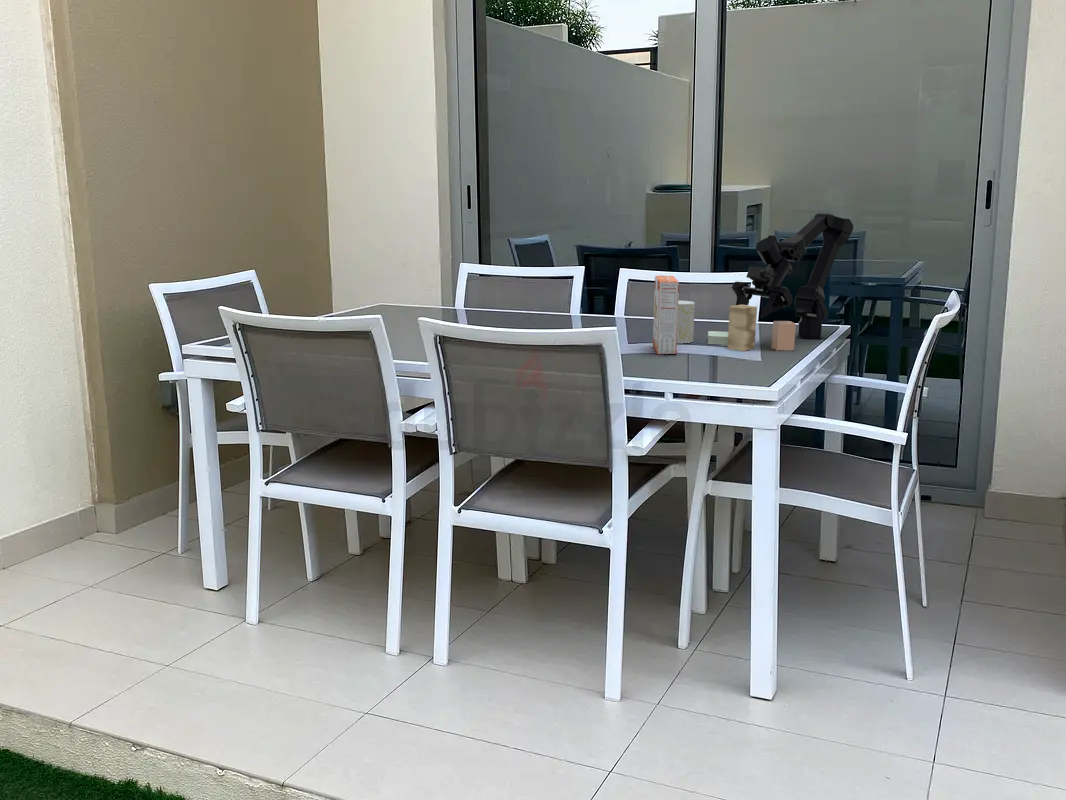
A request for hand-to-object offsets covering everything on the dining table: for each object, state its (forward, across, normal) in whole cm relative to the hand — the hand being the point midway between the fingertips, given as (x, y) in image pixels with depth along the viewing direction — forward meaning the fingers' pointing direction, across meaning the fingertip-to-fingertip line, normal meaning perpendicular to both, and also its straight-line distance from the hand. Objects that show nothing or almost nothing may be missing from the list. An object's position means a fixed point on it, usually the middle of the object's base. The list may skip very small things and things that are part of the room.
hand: (747, 315), depth 300 cm
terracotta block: (+2, +8, +12) cm, 14 cm away
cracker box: (+23, -12, -9) cm, 27 cm away
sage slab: (+6, -10, +9) cm, 15 cm away
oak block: (+8, 0, +5) cm, 10 cm away
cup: (+12, -19, +2) cm, 23 cm away
